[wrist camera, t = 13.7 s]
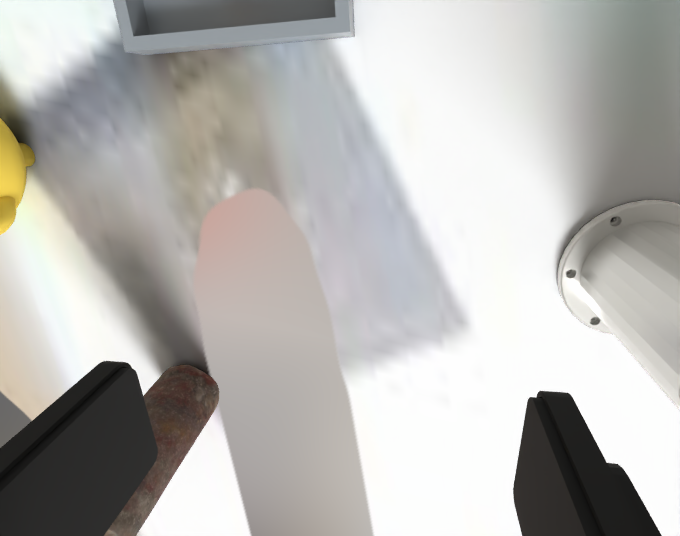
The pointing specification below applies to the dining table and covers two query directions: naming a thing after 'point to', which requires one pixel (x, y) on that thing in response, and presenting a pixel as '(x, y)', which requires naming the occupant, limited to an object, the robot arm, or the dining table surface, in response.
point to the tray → (228, 23)
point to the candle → (169, 437)
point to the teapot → (12, 174)
